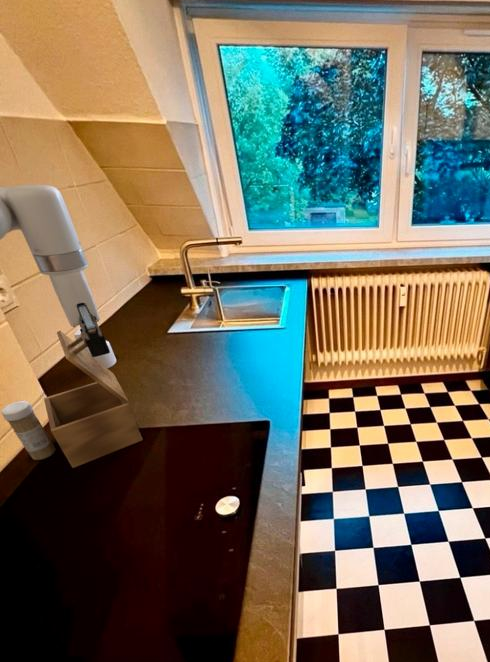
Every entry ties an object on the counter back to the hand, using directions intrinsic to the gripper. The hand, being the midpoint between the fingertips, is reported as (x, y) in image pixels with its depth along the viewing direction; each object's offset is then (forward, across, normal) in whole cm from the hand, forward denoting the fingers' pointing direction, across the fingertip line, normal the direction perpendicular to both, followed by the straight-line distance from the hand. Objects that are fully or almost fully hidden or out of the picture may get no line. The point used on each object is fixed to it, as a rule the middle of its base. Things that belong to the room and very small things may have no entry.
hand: (98, 348), depth 80 cm
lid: (+4, 0, -3) cm, 5 cm away
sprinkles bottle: (+22, -2, -17) cm, 28 cm away
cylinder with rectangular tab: (+22, -40, 0) cm, 46 cm away
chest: (+22, 0, -6) cm, 22 cm away
